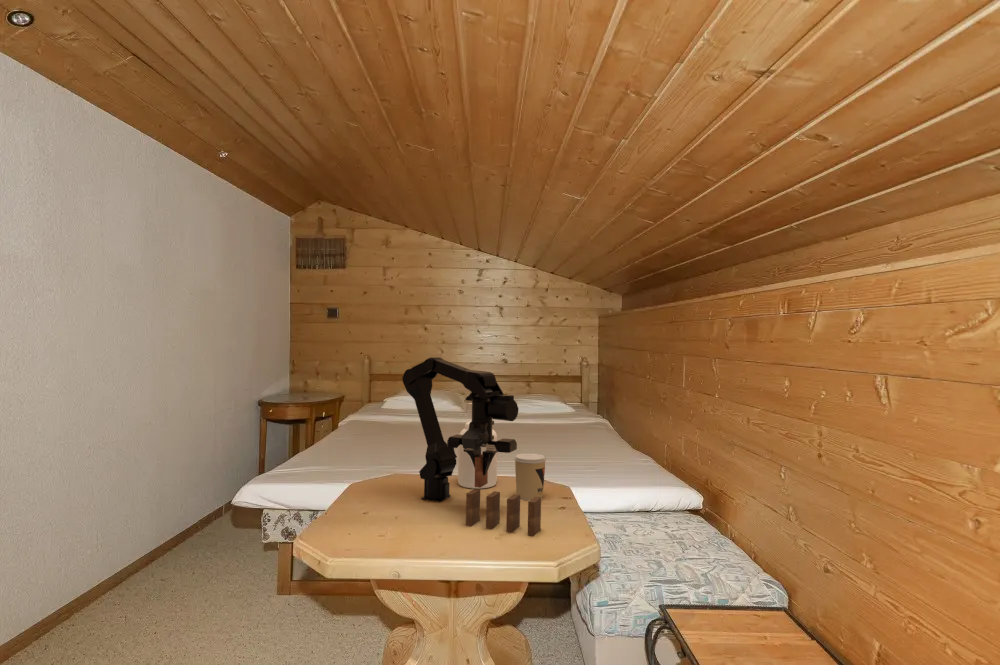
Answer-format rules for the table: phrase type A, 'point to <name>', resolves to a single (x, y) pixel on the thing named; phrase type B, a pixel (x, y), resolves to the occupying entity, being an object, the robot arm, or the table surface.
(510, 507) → the domino
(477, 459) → the domino
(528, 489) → the coffee cup
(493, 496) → the domino
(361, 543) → the table surface
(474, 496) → the domino
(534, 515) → the domino
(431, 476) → the robot arm
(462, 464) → the white lidded jar
